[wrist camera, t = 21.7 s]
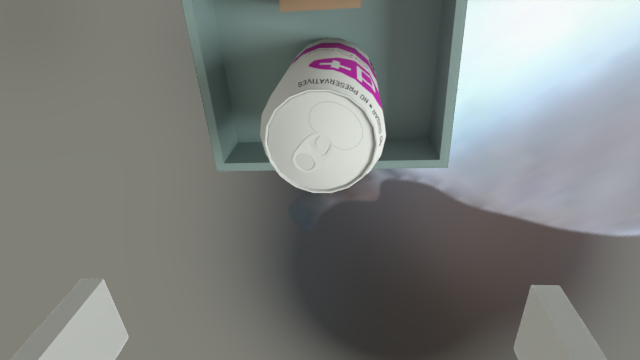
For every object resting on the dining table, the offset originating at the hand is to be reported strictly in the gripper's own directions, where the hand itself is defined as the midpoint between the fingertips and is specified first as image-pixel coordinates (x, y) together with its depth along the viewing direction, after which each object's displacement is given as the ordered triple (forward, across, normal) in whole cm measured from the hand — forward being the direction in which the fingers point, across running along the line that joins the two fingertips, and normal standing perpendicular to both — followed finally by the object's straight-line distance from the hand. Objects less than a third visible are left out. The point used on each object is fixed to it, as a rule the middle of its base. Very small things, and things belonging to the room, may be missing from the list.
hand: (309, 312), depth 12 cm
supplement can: (+28, -1, 0) cm, 28 cm away
